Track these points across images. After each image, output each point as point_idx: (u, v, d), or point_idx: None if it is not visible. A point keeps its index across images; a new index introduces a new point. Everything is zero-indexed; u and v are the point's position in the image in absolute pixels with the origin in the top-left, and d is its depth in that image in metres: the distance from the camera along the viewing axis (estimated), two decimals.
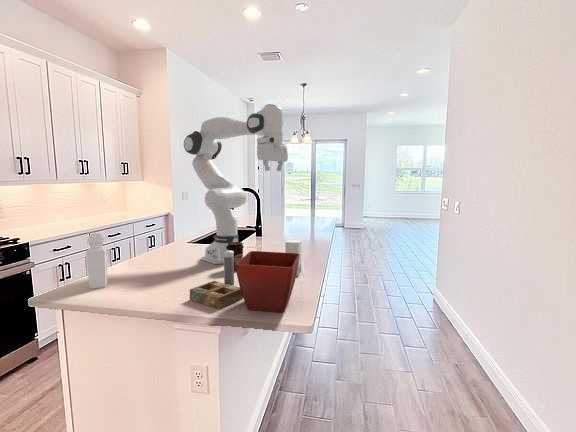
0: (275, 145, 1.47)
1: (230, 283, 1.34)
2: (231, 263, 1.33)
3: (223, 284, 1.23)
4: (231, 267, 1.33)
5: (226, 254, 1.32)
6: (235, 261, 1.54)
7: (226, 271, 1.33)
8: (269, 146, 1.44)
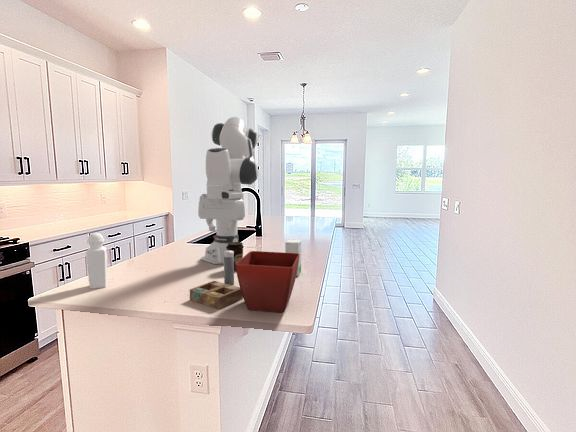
0: None
1: (230, 283, 1.34)
2: (231, 263, 1.33)
3: (223, 284, 1.23)
4: (231, 267, 1.33)
5: (226, 254, 1.32)
6: (235, 261, 1.54)
7: (226, 271, 1.33)
8: None
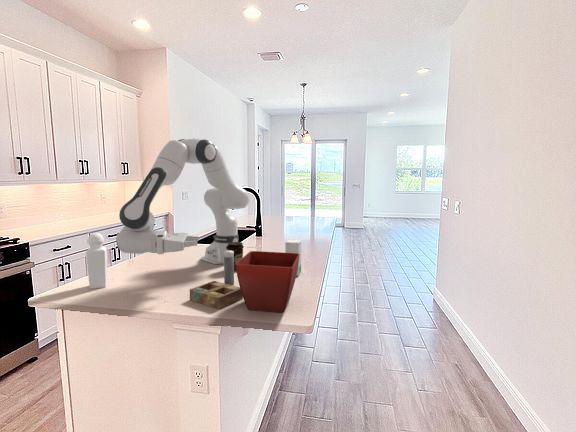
0: (167, 236, 1.26)
1: (230, 283, 1.34)
2: (231, 263, 1.33)
3: (223, 284, 1.23)
4: (231, 267, 1.33)
5: (226, 254, 1.32)
6: (235, 261, 1.54)
7: (226, 271, 1.33)
8: (167, 239, 1.23)
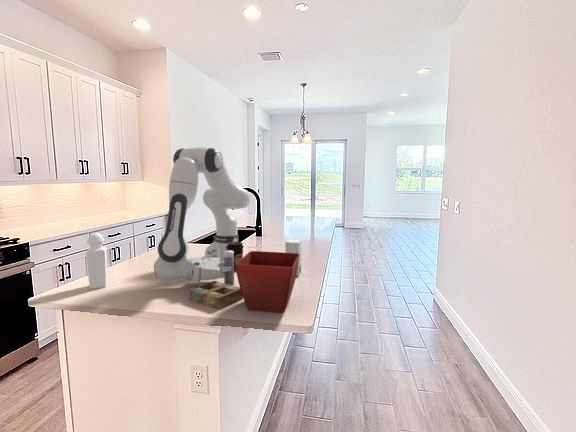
0: (202, 263, 1.31)
1: (230, 283, 1.34)
2: (231, 263, 1.33)
3: (223, 284, 1.23)
4: (231, 267, 1.33)
5: (226, 254, 1.32)
6: (235, 261, 1.54)
7: (226, 271, 1.33)
8: (204, 266, 1.27)
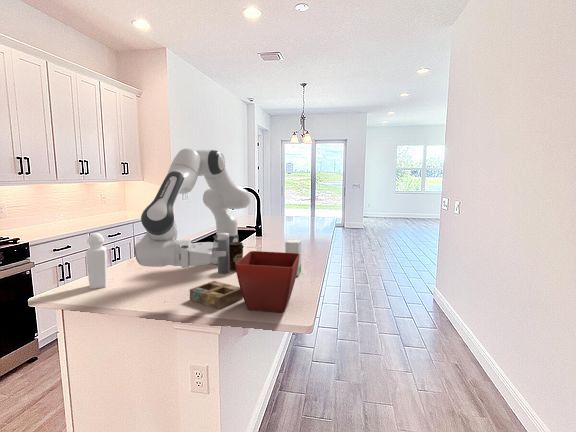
0: (192, 246, 1.11)
1: (225, 271, 1.14)
2: (226, 247, 1.13)
3: (223, 284, 1.23)
4: (226, 252, 1.13)
5: (220, 236, 1.12)
6: (235, 261, 1.54)
7: (220, 257, 1.13)
8: (193, 250, 1.07)
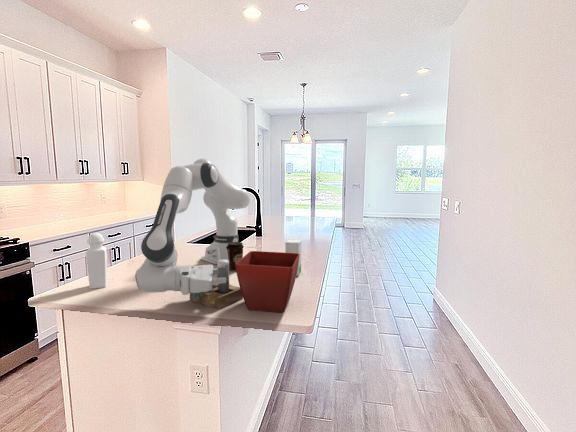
0: (192, 272, 1.12)
1: None
2: (226, 274, 1.14)
3: None
4: (226, 280, 1.14)
5: (220, 264, 1.13)
6: (235, 261, 1.54)
7: (220, 284, 1.14)
8: (193, 276, 1.08)
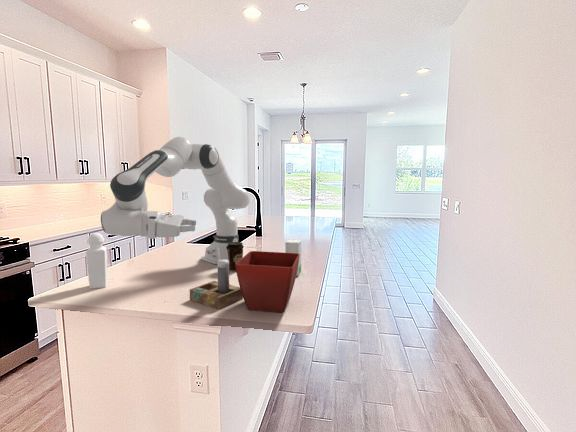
0: (160, 218, 1.09)
1: None
2: (226, 274, 1.14)
3: None
4: (226, 279, 1.14)
5: (220, 264, 1.13)
6: (235, 261, 1.54)
7: (220, 284, 1.14)
8: (161, 221, 1.06)
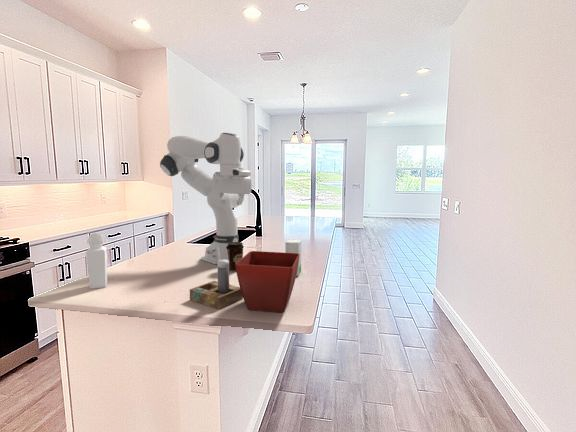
0: None
1: None
2: (226, 274, 1.14)
3: None
4: (226, 279, 1.14)
5: (220, 264, 1.13)
6: (235, 261, 1.54)
7: (220, 284, 1.14)
8: None
